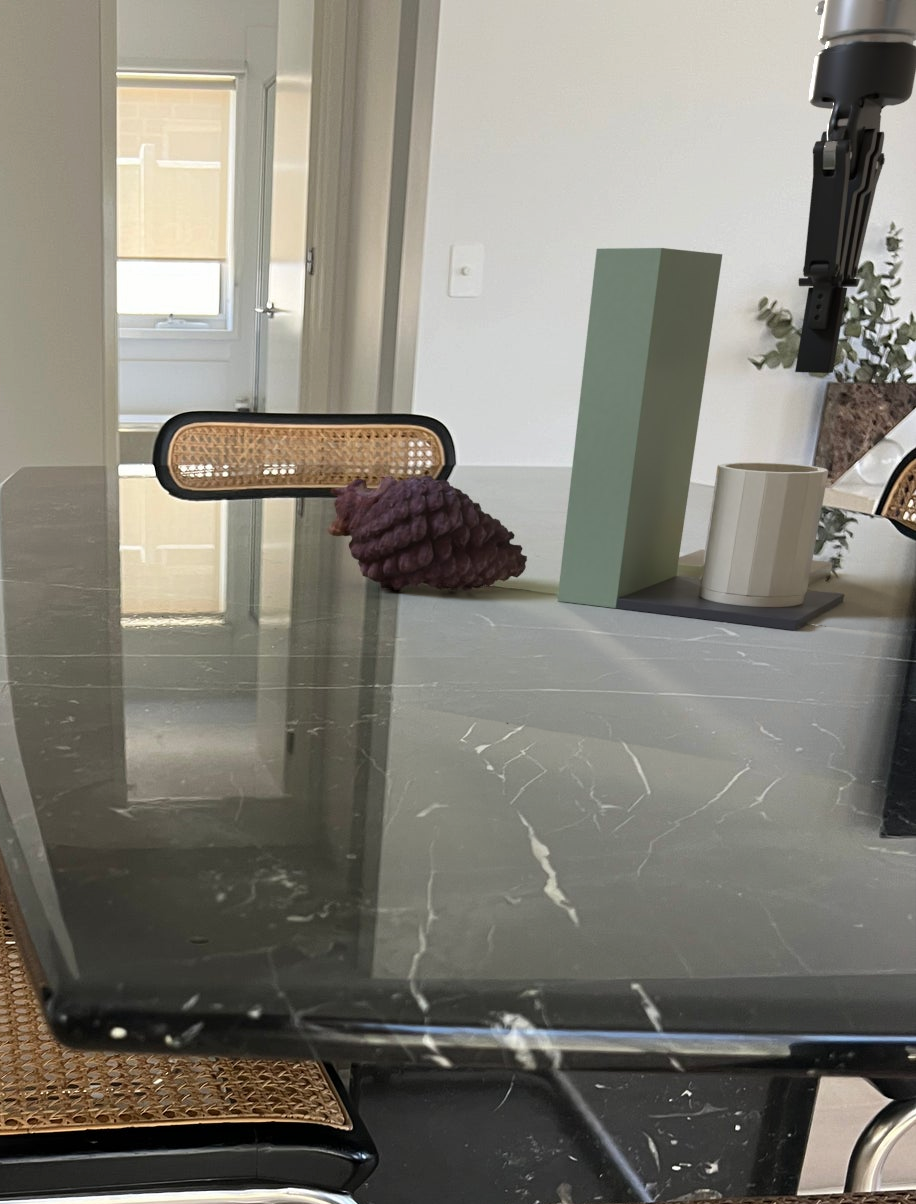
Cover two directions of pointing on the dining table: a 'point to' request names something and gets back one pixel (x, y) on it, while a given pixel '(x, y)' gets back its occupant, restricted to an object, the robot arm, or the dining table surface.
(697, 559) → the block
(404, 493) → the pine cone
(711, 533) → the cup
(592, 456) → the coffee machine
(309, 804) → the dining table surface
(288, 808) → the dining table surface
